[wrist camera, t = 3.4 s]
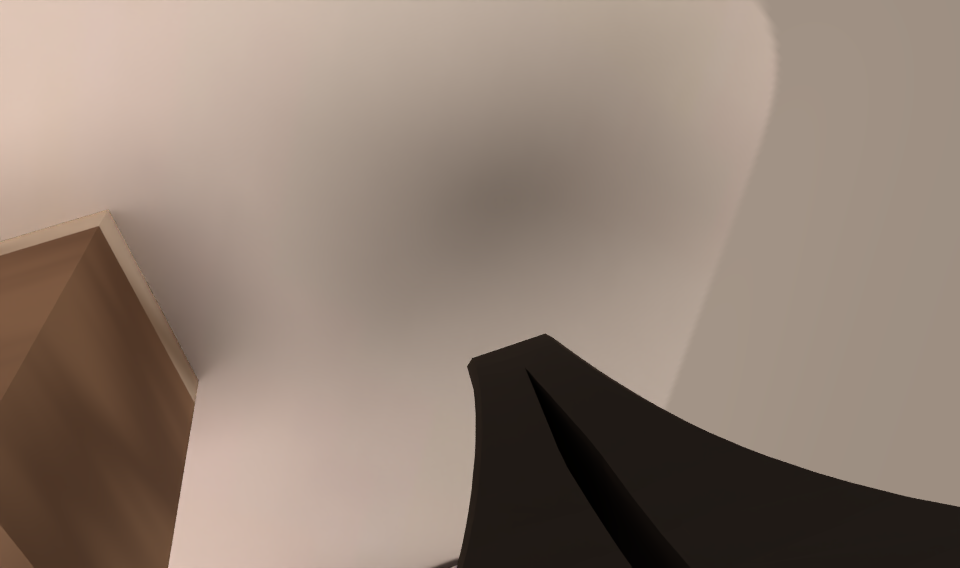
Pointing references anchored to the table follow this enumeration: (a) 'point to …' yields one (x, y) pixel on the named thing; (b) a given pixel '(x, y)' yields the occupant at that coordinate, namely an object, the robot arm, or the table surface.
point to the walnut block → (87, 404)
